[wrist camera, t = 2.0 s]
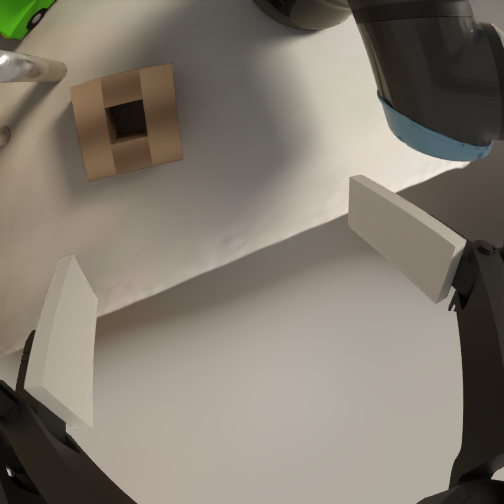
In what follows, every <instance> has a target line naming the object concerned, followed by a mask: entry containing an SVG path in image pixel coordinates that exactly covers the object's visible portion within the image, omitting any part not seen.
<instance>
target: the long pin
mask: <svg viewBox="0 0 504 504" xmlns="http://www.w3.org/2000/svg"><path fill="white" fill-rule="evenodd" d="M66 72H67V68H66V65H65V64H64V63H61V62H57V61H53V60H49V59H45V58H40V57H36V56H31V55H26V54H21V53H15V52H10V51H4V50H0V83H7V82H58V81H60V80H62V79H63V78H64V77H65V75H66Z"/></svg>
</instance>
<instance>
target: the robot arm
mask: <svg viewBox="0 0 504 504" xmlns="http://www.w3.org/2000/svg"><path fill="white" fill-rule="evenodd" d="M253 1H254V2H255V3H256V5H257V6H258V7H259V8H260V9H261V10H262V11H263V12H265V13H266V14H267V15H268V16H270V17H271V18H273V19H274V20H276V21H278V22H280V23H282V24H284V25H286V26H289V27H292V28H296V29H301V30H319V29H324V28H329V27H333V26H335V25H338V24H340V23H342V22H343V21H345V20H346V19H347V18H348V17H349V16H350V15H351V14H353V16H354V18H355V21H356V24H357V27H358V29H359V32H360V34H361V37H362V40H363V43H364V45H365V48H366V51H367V54H368V57H369V61H370V64H371V67H372V70H373V74H374V77H375V81H376V84H377V88H378V90H377V96H378V98H379V100H380V101H381V103H382V105H383V109H384V112H385V116H386V119H387V123H388V125H389V128H390V129H391V131H392V132H393V134H394V135H395V136H396V137H397V138H398V139H399V140H401V141H402V142H404V143H406V144H407V145H408V146H409V147H411V148H412V149H414V150H416V151H419V152H421V153H424V154H426V155H429V156H432V157H436V158H440V159H445V160H450V161H461V162H465V161H474V160H476V158H480V159H481V158H483V157H485V156H487V155H488V154H489V152H490V149H491V148H492V145H493V140H502V141H504V33H503V32H502V31H500V29H499V28H497V27H496V26H495V25H494V24H492V23H483V22H476V21H475V18H474V16H473V12H472V8H471V5H470V2H469V1H471V0H253ZM348 226H349V227H350V228H351V229H353V230H354V231H355V232H356V233H357V234H358V235H360V236H361V237H362V238H363V239H364V240H366V241H367V242H368V243H369V244H370V245H371V246H373V247H374V248H375V249H376V250H377V251H379V252H380V253H381V254H382V255H383V256H384V257H385V258H386V259H388V260H389V261H390V262H391V263H392V264H393V265H394V266H395V267H396V268H398V269H399V270H400V271H401V272H402V273H403V274H404V275H405V276H406V277H407V278H408V279H410V280H411V281H412V282H413V283H414V284H415V285H416V286H417V287H418V288H419V289H420V290H421V291H422V292H423V293H424V294H425V295H426V296H428V297H429V298H430V299H431V300H432V301H433V302H434V303H435V304H437V303H438V302H440V301H442V300H443V299H445V298H446V297H447V296H448V293H449V290H450V288H451V285H452V286H453V287H454V288H455V289H456V291H455V293H454V296H453V298H452V300H451V303H450V305H449V309H448V311H451V309H452V307H453V305H454V304H455V309H454V311H455V312H456V313H457V320H458V327H459V336H460V345H461V356H462V371H463V433H462V445H461V450H460V452H459V454H458V456H457V458H456V459H455V461H454V464H453V467H452V471H451V477H450V484H449V490H447V491H444V492H441V493H438V494H436V495H433V496H430V497H427V498H424V499H422V500H421V501H419V502H418V503H417V504H504V481H500V480H492V479H491V477H492V476H493V474H494V473H495V472H496V471H497V470H499V469H501V468H502V467H504V242H503V245H502V247H500V248H496V247H495V246H493V245H492V244H490V243H488V242H486V241H483V240H476V241H474V242H473V243H472V242H470V241H469V240H467V239H466V238H465V237H463V236H462V235H460V234H459V233H458V232H456V231H455V230H453V229H452V228H451V227H448V225H446V224H445V223H443V222H441V221H440V220H438V219H437V218H436V217H434V216H433V215H430V214H428V213H426V212H424V211H423V210H421V209H419V208H418V207H416V206H415V205H413V204H411V203H410V202H408V201H406V200H405V199H403V198H402V197H400V196H398V195H397V194H395V193H393V192H392V191H390V190H388V189H386V188H385V187H383V186H381V185H379V184H378V183H376V182H374V181H372V180H371V179H369V178H367V177H365V176H363V175H358V176H353V177H350V182H349V213H348ZM97 308H98V299H97V297H96V295H95V294H94V292H93V290H92V288H91V286H90V285H89V283H88V281H87V279H86V277H85V275H84V274H83V272H82V270H81V268H80V266H79V264H78V262H77V260H76V258H75V256H74V254H71V255H68V256H65V257H63V258H60V259H59V261H58V264H57V266H56V269H55V272H54V274H53V277H52V280H51V283H50V286H49V289H48V292H47V295H46V298H45V301H44V304H43V307H42V311H41V314H40V318H39V321H38V325H37V329H36V330H33V331H32V332H31V334H30V335H29V337H28V339H27V341H26V343H25V347H24V351H23V354H24V355H22V359H21V363H22V364H20V369H19V373H18V378H17V384H16V390H15V391H14V390H13V389H12V388H11V387H10V386H8V385H7V384H6V383H5V382H4V381H3V380H0V504H137V503H136V502H135V501H133V500H132V499H131V498H130V497H129V496H128V495H127V494H125V493H124V492H123V491H122V490H121V489H120V488H119V487H118V486H117V485H116V484H115V483H114V482H113V481H112V480H111V479H110V478H108V476H107V475H106V474H105V473H104V472H103V471H102V470H101V469H100V468H99V467H98V466H97V465H96V464H95V463H94V462H93V461H92V460H91V459H90V458H89V456H88V455H87V454H86V453H85V452H84V451H83V450H82V449H81V447H80V446H79V445H78V444H77V443H76V441H74V439H73V438H72V437H71V436H70V435H69V434H68V433H67V432H66V424H68V425H69V426H70V427H72V428H73V429H75V430H82V429H90V428H93V412H92V410H93V408H92V383H93V355H94V340H95V328H96V318H97ZM6 468H7V469H9V470H10V471H11V476H12V477H11V476H9V475H8V472H7V469H6Z"/></svg>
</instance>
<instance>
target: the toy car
mask: <svg viewBox="0 0 504 504" xmlns="http://www.w3.org/2000/svg"><path fill="white" fill-rule="evenodd" d="M54 1H55V0H0V33H1V35H2V36H4V37H5V38H7V39H14V40H19V39H22V38H23V37H24V36H25V34H26V33H27V32H28V31H29V30H28V29H32V28H33V27H35V26H36V25H37V24H38V23H39V22H40V21H41V19H42V18H43V17H44V15H45V12H46V9H48V7H49V6H50V5H51V4H52V3H53V2H54ZM45 8H46V9H45Z"/></svg>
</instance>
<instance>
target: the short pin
mask: <svg viewBox="0 0 504 504" xmlns="http://www.w3.org/2000/svg"><path fill="white" fill-rule="evenodd" d="M9 139H10V131H9V129H8V128H7V127H5V126H3V127H0V147H1V146H3V145H5V144H6V143H7V142H8V141H9Z"/></svg>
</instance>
